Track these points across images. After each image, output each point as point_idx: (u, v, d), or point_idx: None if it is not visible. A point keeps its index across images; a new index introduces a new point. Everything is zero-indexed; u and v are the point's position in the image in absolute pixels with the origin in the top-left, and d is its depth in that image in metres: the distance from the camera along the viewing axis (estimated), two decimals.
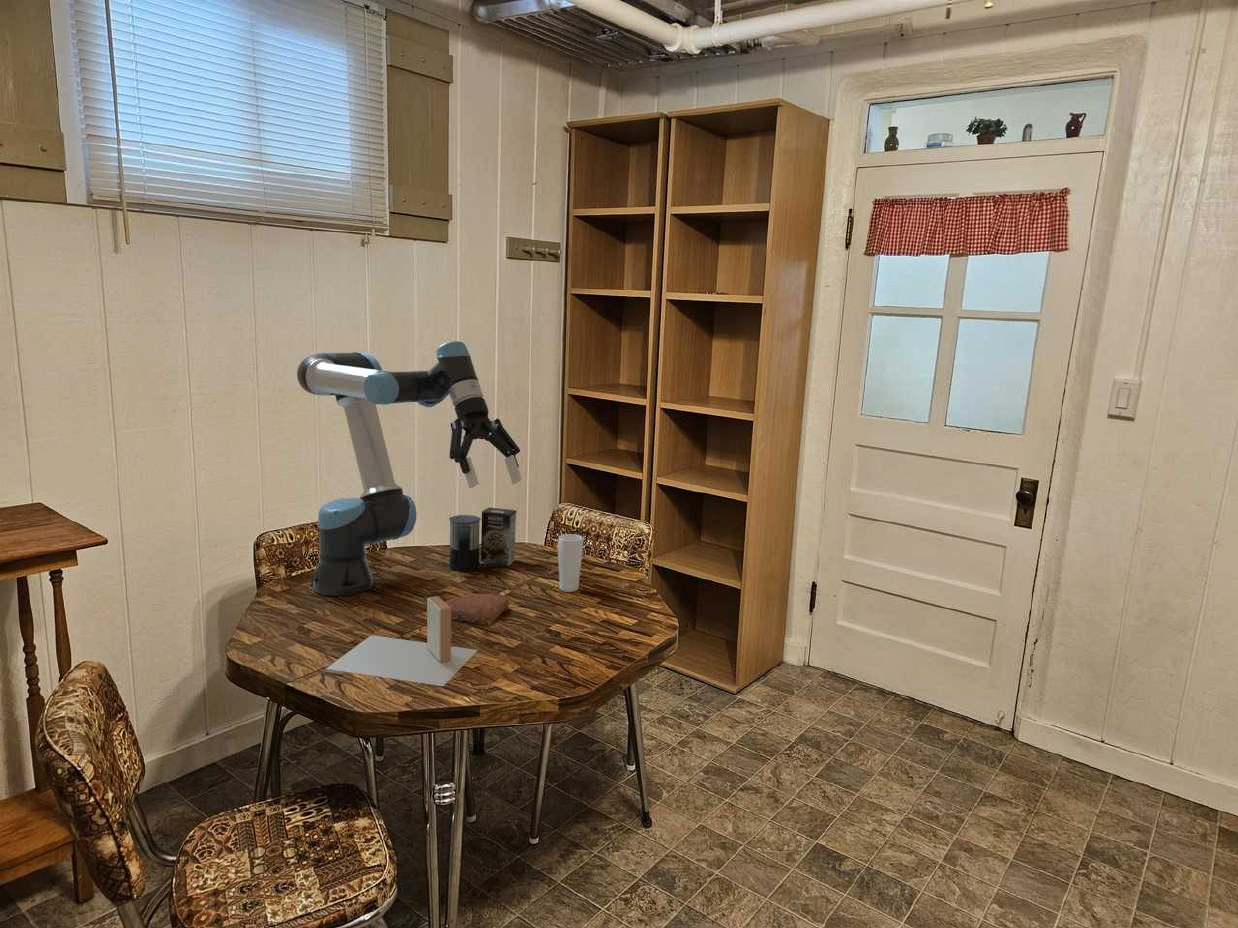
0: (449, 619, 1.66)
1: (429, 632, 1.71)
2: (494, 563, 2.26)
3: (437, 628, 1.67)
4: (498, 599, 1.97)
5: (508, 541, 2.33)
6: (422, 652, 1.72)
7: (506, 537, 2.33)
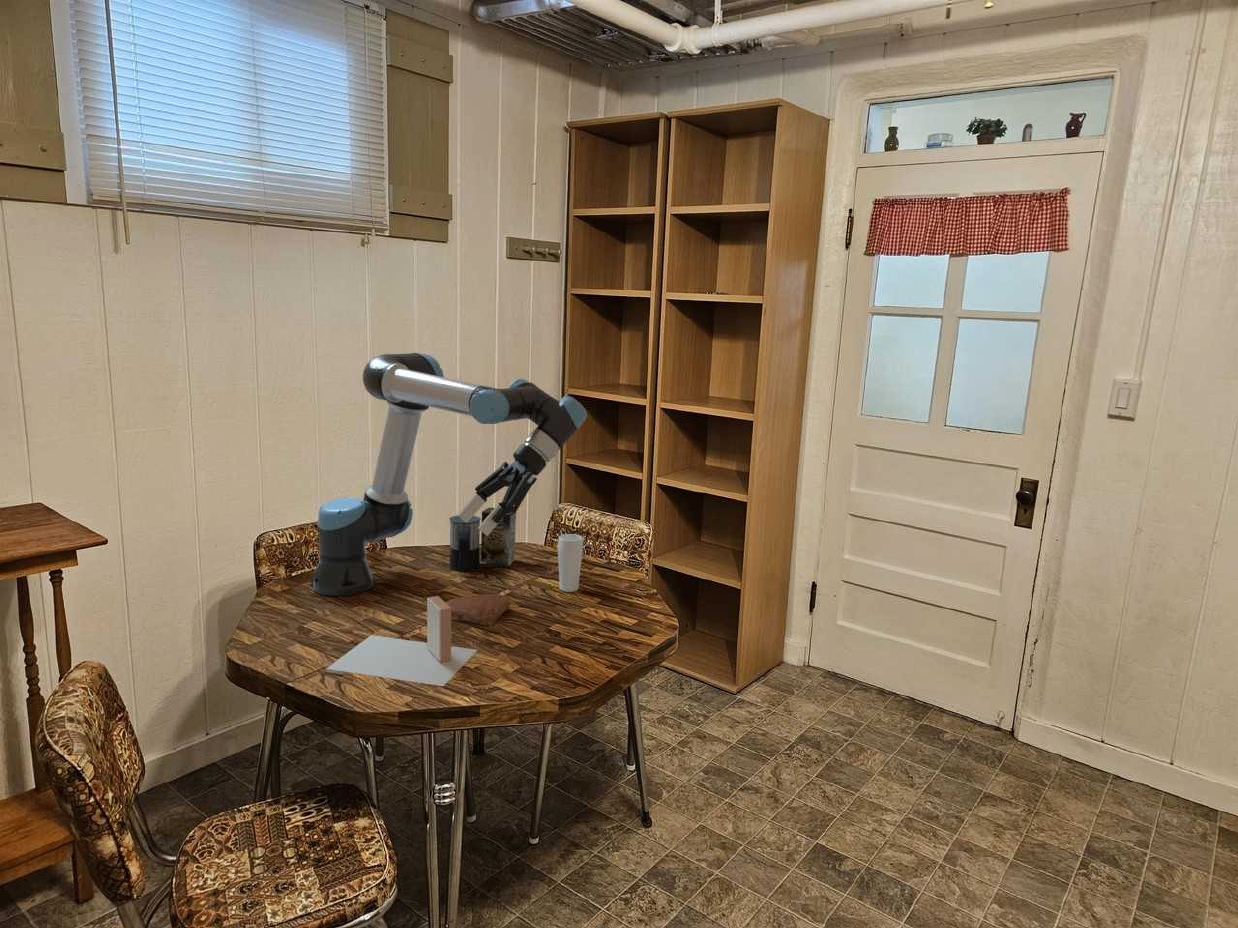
0: (449, 619, 1.66)
1: (429, 632, 1.71)
2: (494, 563, 2.26)
3: (437, 628, 1.67)
4: (498, 599, 1.97)
5: (508, 541, 2.33)
6: (422, 652, 1.72)
7: (506, 537, 2.33)
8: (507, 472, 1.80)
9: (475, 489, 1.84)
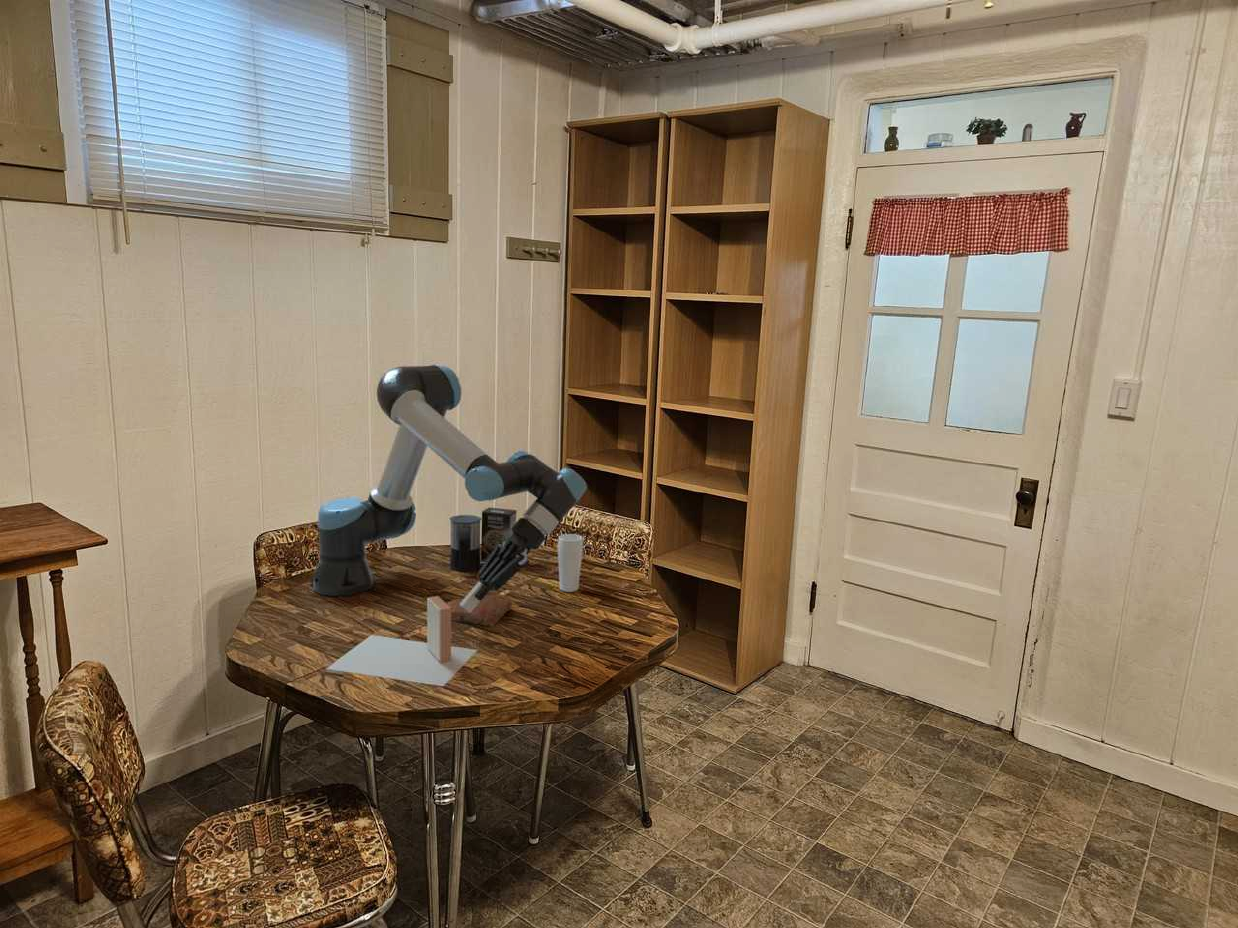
0: (449, 619, 1.66)
1: (429, 632, 1.71)
2: None
3: (437, 628, 1.67)
4: (500, 600, 1.97)
5: None
6: (422, 652, 1.72)
7: (506, 537, 2.33)
8: (507, 547, 1.76)
9: (478, 575, 1.76)
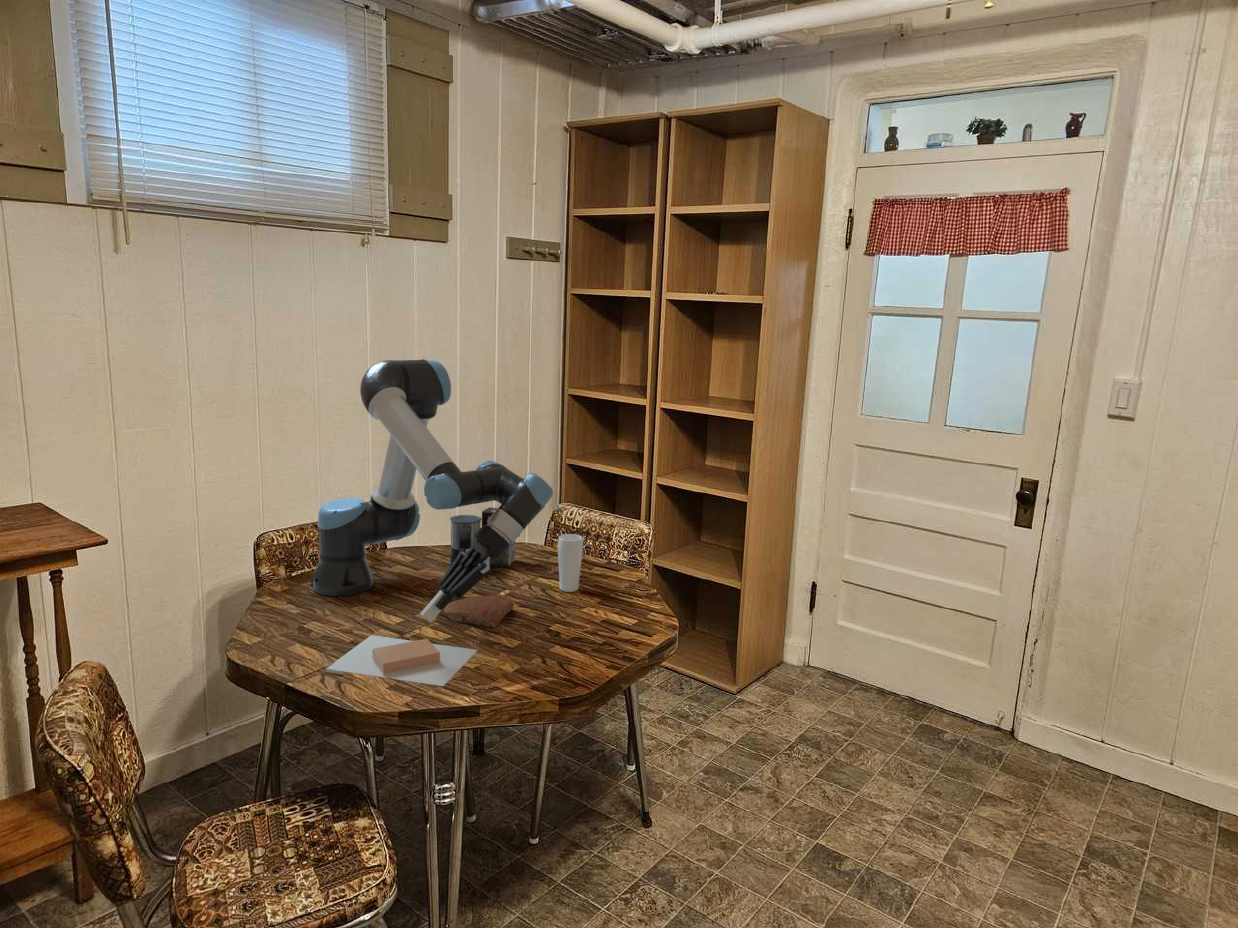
0: (395, 662, 1.61)
1: None
2: (495, 563, 2.26)
3: None
4: (502, 601, 1.96)
5: None
6: None
7: None
8: (470, 555, 1.71)
9: (440, 583, 1.71)
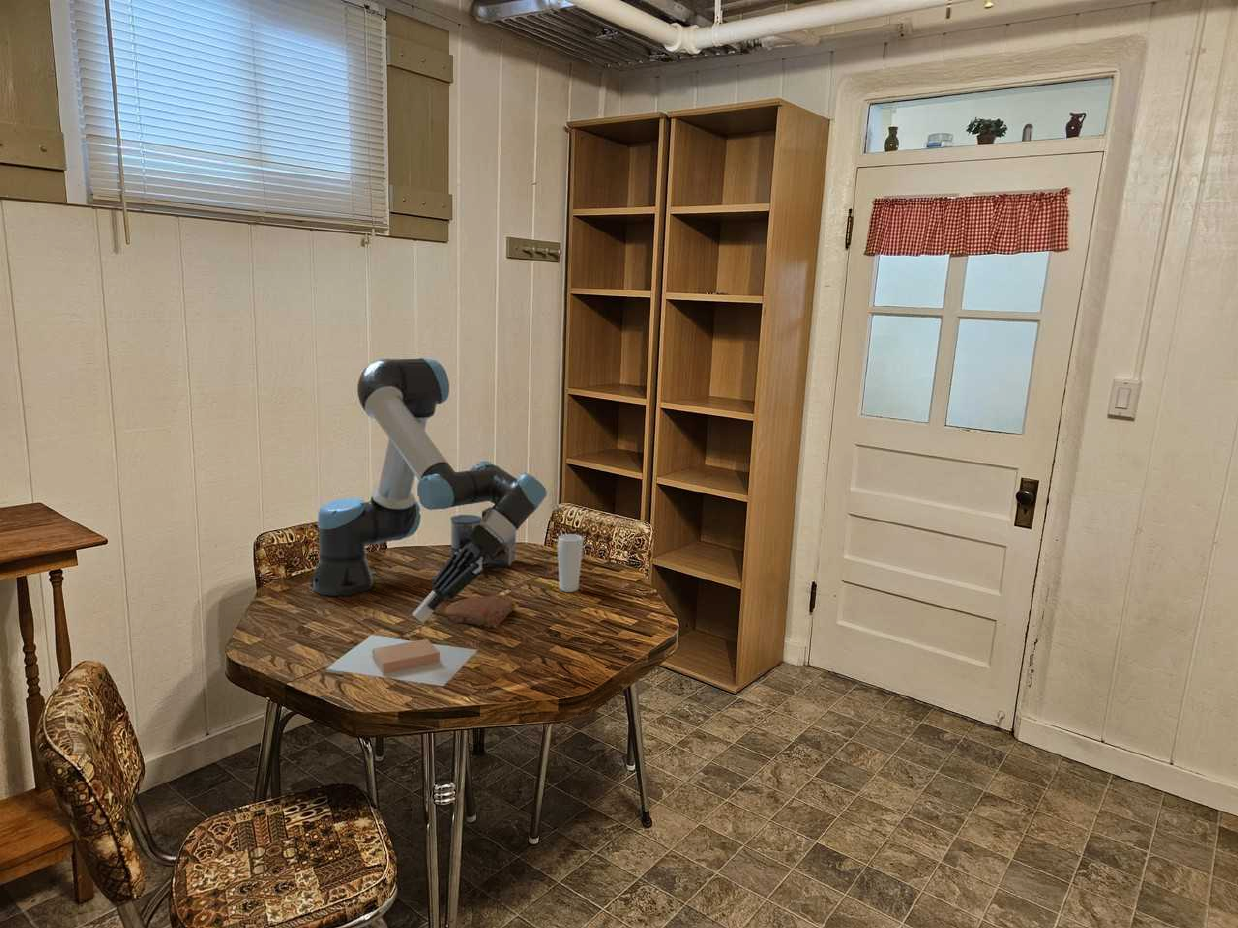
0: (395, 662, 1.61)
1: None
2: (495, 563, 2.26)
3: None
4: (503, 601, 1.96)
5: (508, 541, 2.33)
6: None
7: None
8: (463, 555, 1.70)
9: (432, 584, 1.70)
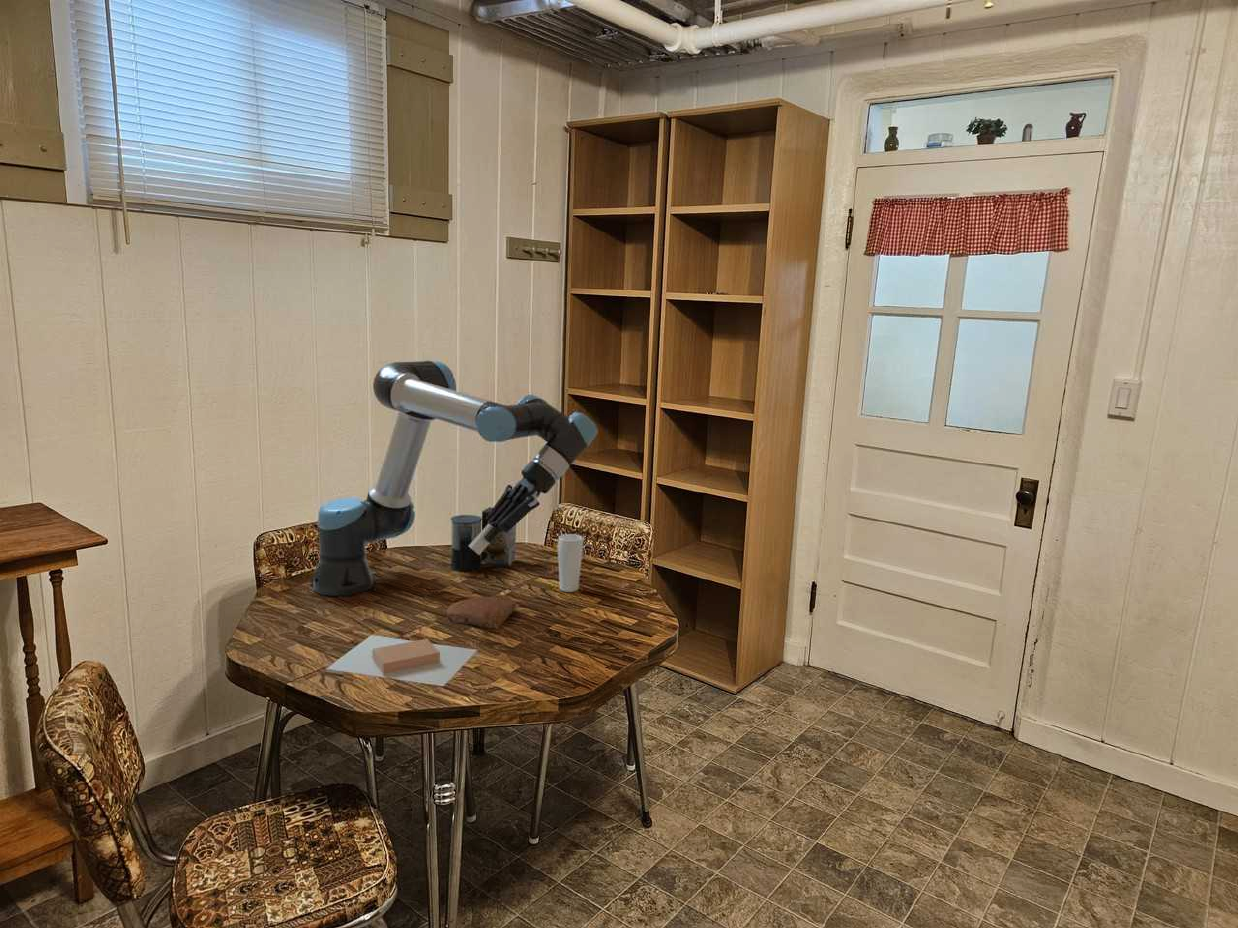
0: (395, 662, 1.61)
1: None
2: (495, 563, 2.26)
3: None
4: (505, 602, 1.96)
5: (508, 541, 2.33)
6: None
7: (507, 537, 2.33)
8: (517, 490, 1.75)
9: (487, 518, 1.74)
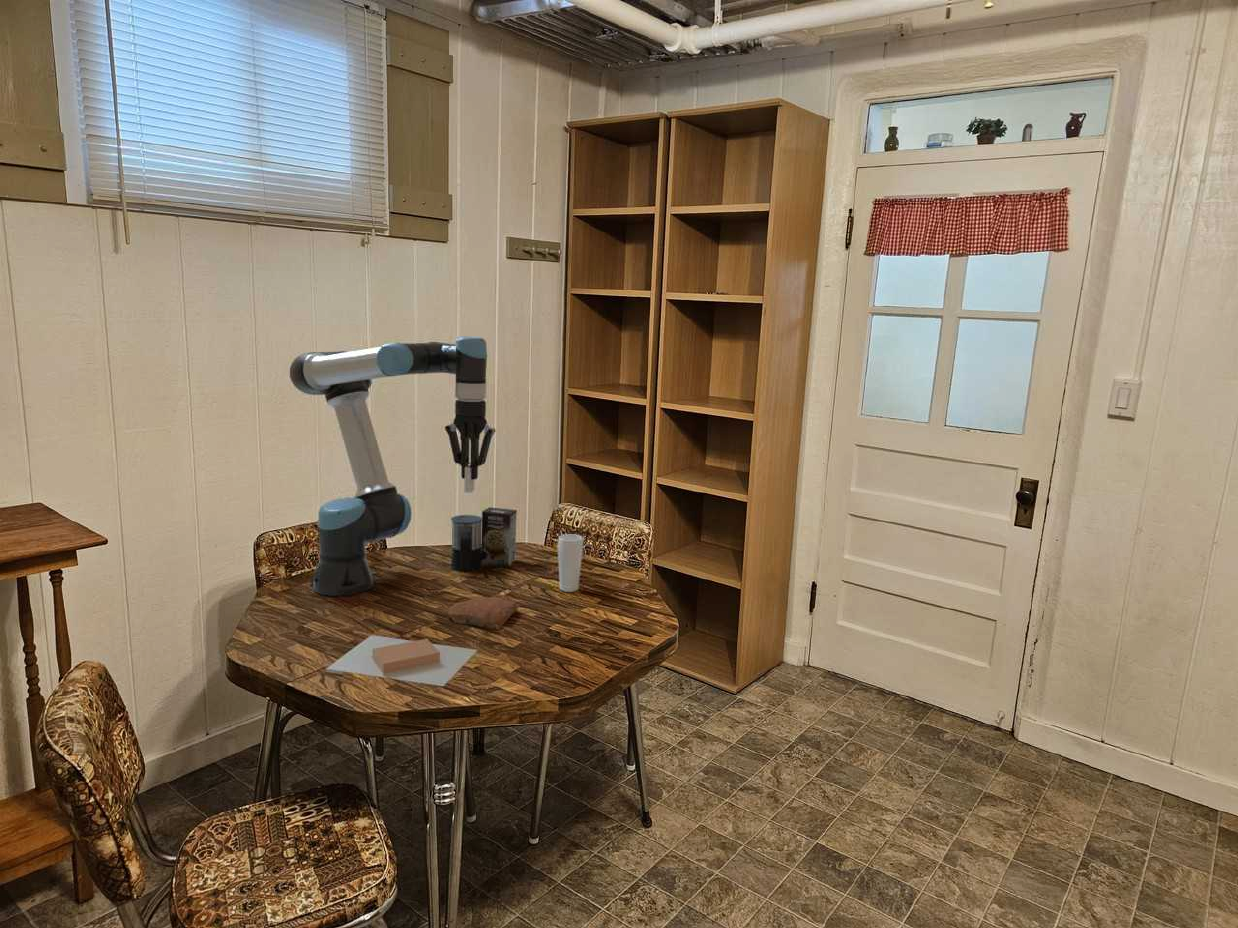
0: (395, 662, 1.61)
1: None
2: (496, 563, 2.26)
3: None
4: (506, 602, 1.95)
5: (508, 541, 2.33)
6: None
7: (506, 537, 2.33)
8: (465, 429, 1.96)
9: (457, 462, 1.99)
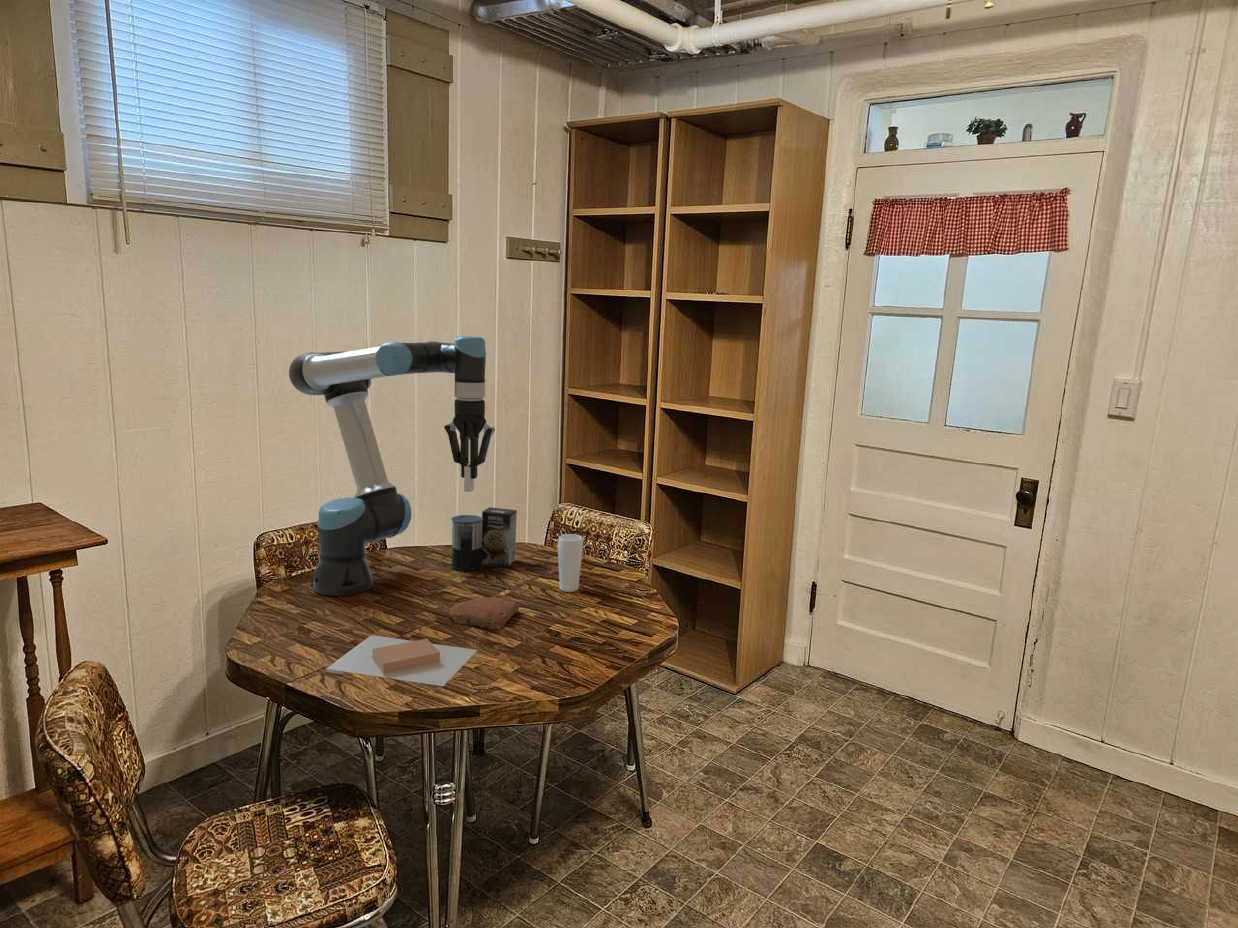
0: (395, 662, 1.61)
1: None
2: (496, 563, 2.26)
3: None
4: (507, 603, 1.95)
5: (508, 541, 2.33)
6: None
7: (507, 537, 2.33)
8: (464, 428, 1.96)
9: (456, 462, 1.99)
